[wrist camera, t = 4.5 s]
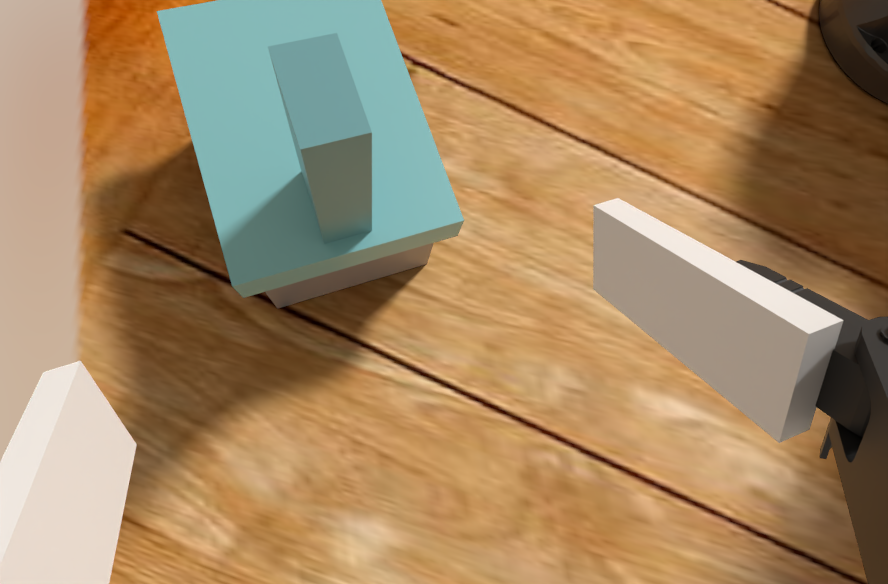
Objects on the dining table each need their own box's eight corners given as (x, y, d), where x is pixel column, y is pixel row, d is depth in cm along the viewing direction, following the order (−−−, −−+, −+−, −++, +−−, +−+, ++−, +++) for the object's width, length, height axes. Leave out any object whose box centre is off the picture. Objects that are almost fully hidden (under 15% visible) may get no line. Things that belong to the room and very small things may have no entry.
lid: (172, 41, 30) (60, -178, 19) (370, 3, 32) (370, -210, 22) (242, 297, 27) (157, 208, 16) (457, 235, 29) (506, 121, 19)
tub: (222, 118, 37) (182, 34, 29) (363, 86, 39) (361, 1, 31) (277, 308, 34) (249, 272, 26) (426, 264, 36) (441, 218, 28)
